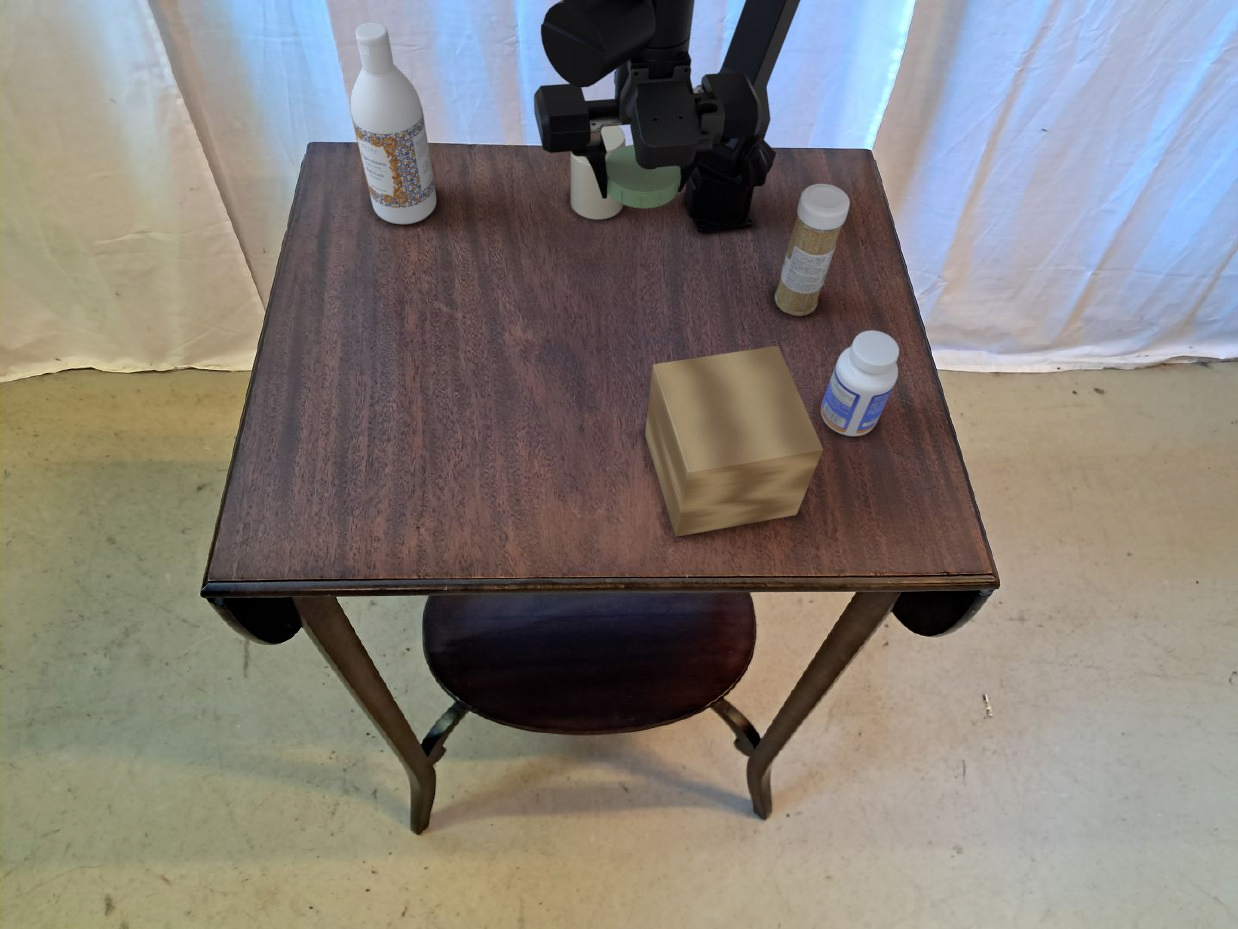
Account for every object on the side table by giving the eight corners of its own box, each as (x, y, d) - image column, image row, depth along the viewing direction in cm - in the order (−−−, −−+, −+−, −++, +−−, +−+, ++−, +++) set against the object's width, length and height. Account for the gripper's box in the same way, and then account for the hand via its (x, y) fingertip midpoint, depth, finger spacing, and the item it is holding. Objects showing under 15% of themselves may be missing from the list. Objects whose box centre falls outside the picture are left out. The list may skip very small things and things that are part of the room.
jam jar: (617, 181, 101) (620, 115, 94) (629, 216, 98) (633, 150, 91) (565, 187, 100) (565, 120, 93) (576, 222, 97) (576, 156, 90)
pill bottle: (874, 396, 85) (906, 326, 77) (878, 441, 82) (911, 373, 74) (818, 390, 85) (843, 320, 77) (819, 435, 82) (846, 367, 74)
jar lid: (611, 211, 78) (612, 195, 77) (598, 163, 82) (598, 146, 81) (686, 205, 79) (688, 188, 78) (669, 157, 83) (671, 141, 82)
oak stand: (757, 416, 83) (778, 345, 75) (796, 515, 77) (823, 449, 69) (644, 434, 81) (652, 363, 73) (675, 537, 75) (688, 472, 67)
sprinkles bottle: (785, 280, 93) (814, 174, 82) (824, 298, 92) (859, 193, 81) (765, 306, 91) (792, 201, 80) (805, 324, 90) (838, 220, 79)
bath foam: (360, 210, 96) (316, 34, 80) (400, 177, 100) (366, 1, 83) (410, 235, 95) (375, 60, 78) (449, 200, 98) (425, 25, 81)
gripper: (551, 97, 63) (554, 262, 76) (799, 80, 66) (761, 241, 79) (530, 14, 69) (535, 179, 82) (757, 1, 72) (728, 163, 85)
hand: (640, 192), depth 82 cm, fingers closed on jar lid, 7 cm apart
